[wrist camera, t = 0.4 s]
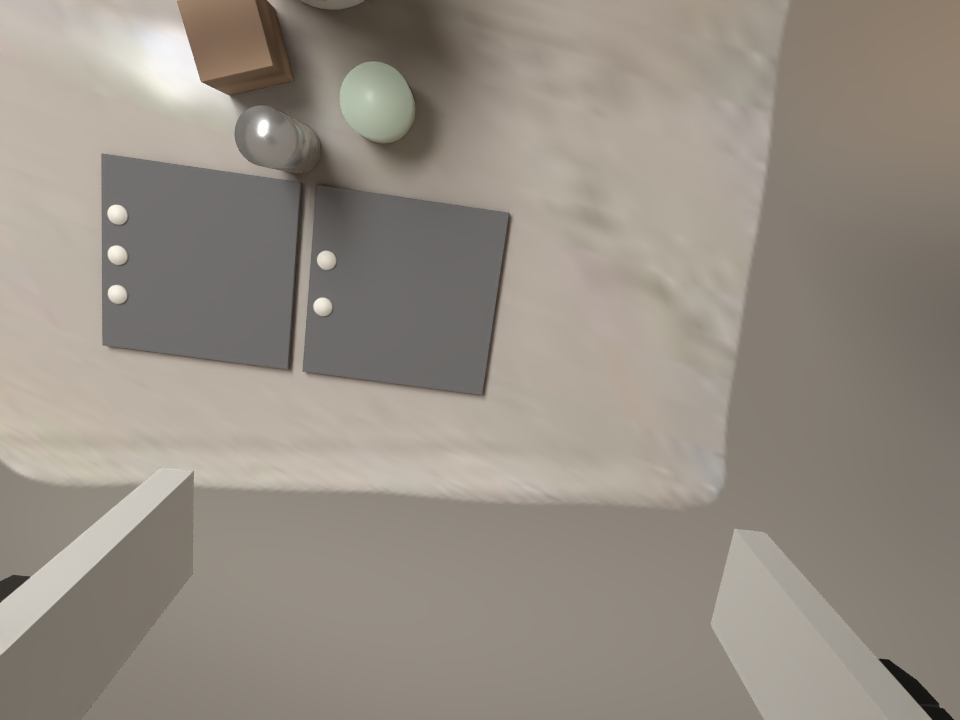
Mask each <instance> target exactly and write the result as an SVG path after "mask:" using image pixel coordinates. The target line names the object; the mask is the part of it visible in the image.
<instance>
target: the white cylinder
mask: <svg viewBox="0 0 960 720" xmlns="http://www.w3.org/2000/svg"><path fill="white" fill-rule="evenodd" d="M300 1H301V2H303V3H305V4H308V5H310V6H313V7H317V8H321V9H330V10H337V9H345V8H349V7H353V6H355V5H358V4H360V3H362V2H364V1H365V0H300Z"/></svg>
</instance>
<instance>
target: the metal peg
mask: <svg viewBox="0 0 960 720" xmlns="http://www.w3.org/2000/svg"><path fill="white" fill-rule="evenodd" d="M235 141H236V144H237V147H238V149H239V151H240V152H241V154H242V155H243V156H244V157H245V158H246V159H247V160H248V161H250V162H251V163H253V164H256V165H258V166H263V167H268V168H272V169H277V170H282V171H286V172H291V173H297V174H299V173H305V172H307V171H309V170H311V169H312V168H313V167H314V166H315V165H316V164H317V162H318V160H319V158H320V154H321V145H320V141H319V138H318V137H317V135H316V133H315V132H314V131H313V130H312V129H311V128H310V127H309V126H307V125H305V124H303V123H301V122H299V121H297V120H296V119H294V118H292V117H290V116H288V115H286V114H284V113H282V112H280V111H278V110H276V109H274V108H272V107H270V106H264V105H258V106H253V107H251V108H249V109H247V110H246V111H244V112H243V113H242V114H241V116H240V117H239V119H238V120H237V123H236V126H235Z"/></svg>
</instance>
